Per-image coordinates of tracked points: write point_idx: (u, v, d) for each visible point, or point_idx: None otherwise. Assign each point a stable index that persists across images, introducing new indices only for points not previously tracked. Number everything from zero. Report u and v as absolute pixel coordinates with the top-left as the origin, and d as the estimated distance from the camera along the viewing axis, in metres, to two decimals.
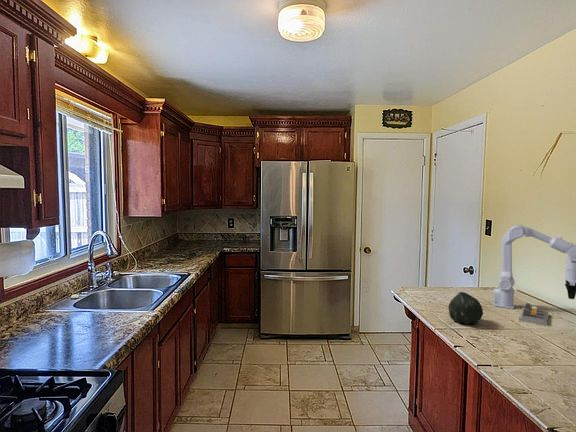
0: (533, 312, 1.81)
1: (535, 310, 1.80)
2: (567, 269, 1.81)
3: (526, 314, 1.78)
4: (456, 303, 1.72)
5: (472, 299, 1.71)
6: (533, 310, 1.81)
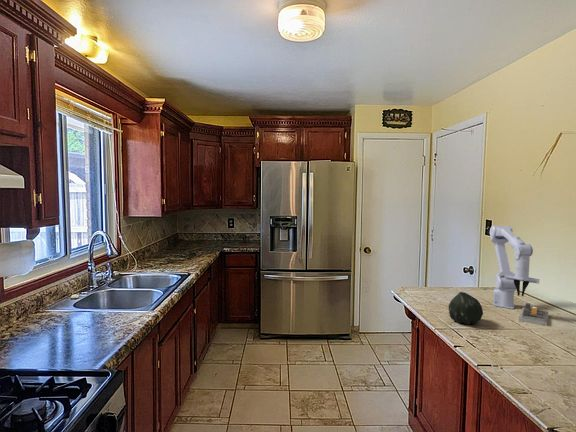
0: (533, 312, 1.81)
1: (535, 310, 1.80)
2: None
3: (526, 314, 1.78)
4: (456, 303, 1.72)
5: (472, 299, 1.71)
6: (533, 310, 1.81)
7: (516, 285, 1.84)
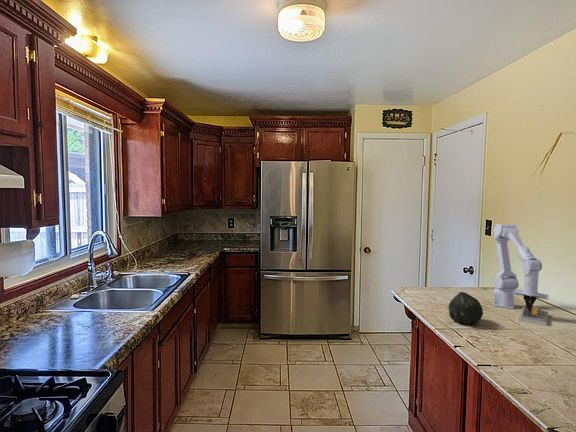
0: (533, 312, 1.81)
1: (536, 310, 1.80)
2: None
3: (526, 314, 1.78)
4: (456, 303, 1.72)
5: (472, 299, 1.71)
6: (534, 310, 1.80)
7: (526, 301, 1.81)
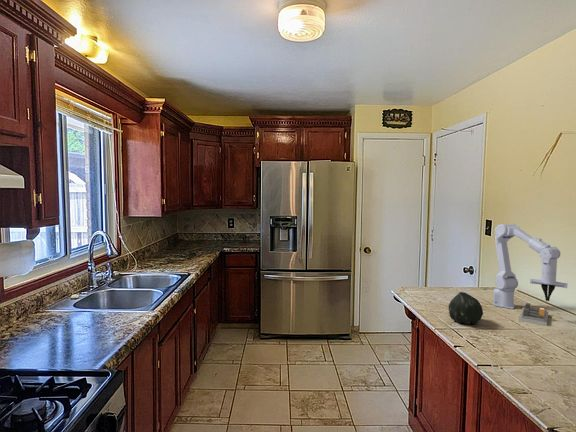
0: (540, 313, 1.79)
1: (543, 311, 1.78)
2: None
3: (526, 314, 1.78)
4: (456, 303, 1.72)
5: (472, 299, 1.71)
6: (541, 311, 1.79)
7: (544, 290, 1.77)
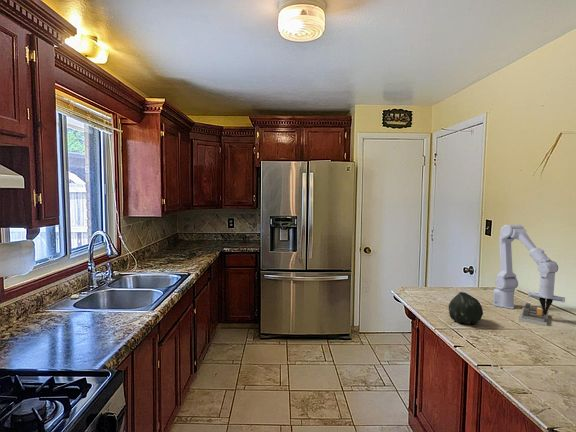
0: (538, 313, 1.79)
1: (540, 311, 1.79)
2: None
3: (526, 314, 1.78)
4: (456, 303, 1.72)
5: (472, 299, 1.71)
6: (538, 311, 1.79)
7: (542, 303, 1.78)
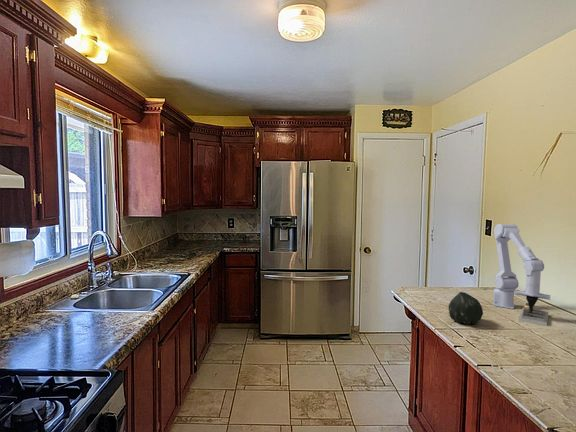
0: None
1: None
2: None
3: (526, 314, 1.78)
4: (456, 303, 1.72)
5: (472, 299, 1.71)
6: None
7: (529, 301, 1.81)
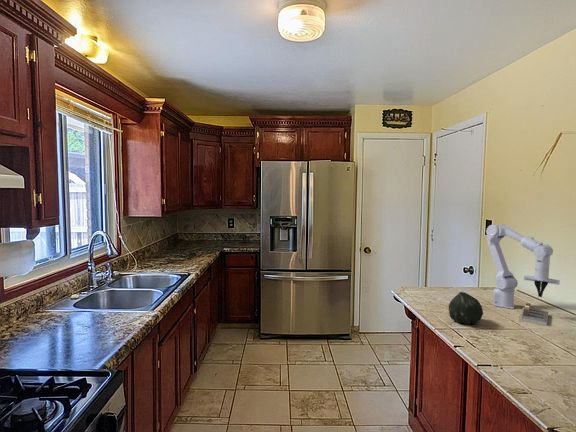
0: None
1: None
2: None
3: (526, 314, 1.78)
4: (456, 303, 1.72)
5: (472, 299, 1.71)
6: None
7: (537, 286, 1.82)
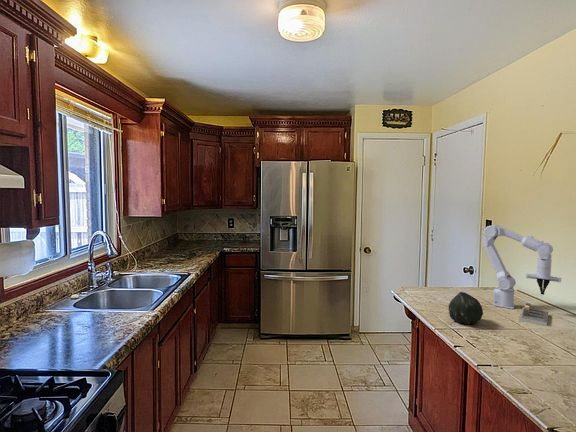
0: None
1: None
2: None
3: (526, 314, 1.78)
4: (457, 303, 1.72)
5: (472, 299, 1.71)
6: None
7: (539, 284, 1.87)
